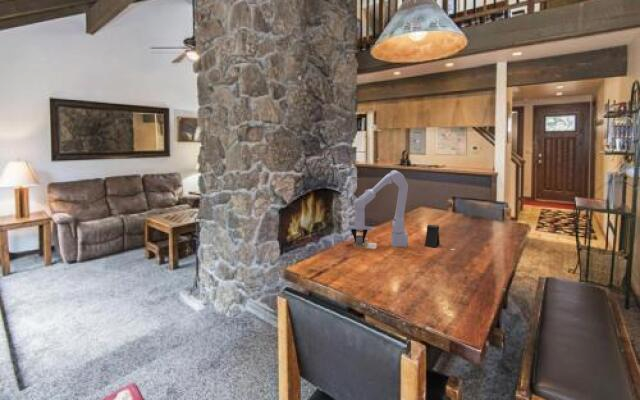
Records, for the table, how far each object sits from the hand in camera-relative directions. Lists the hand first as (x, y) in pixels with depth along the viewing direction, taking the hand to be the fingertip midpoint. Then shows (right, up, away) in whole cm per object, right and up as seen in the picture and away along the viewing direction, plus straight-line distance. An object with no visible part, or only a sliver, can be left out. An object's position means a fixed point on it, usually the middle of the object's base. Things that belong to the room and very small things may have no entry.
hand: (359, 242), depth 210 cm
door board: (+3, -3, 0) cm, 4 cm away
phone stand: (+43, -2, +2) cm, 43 cm away
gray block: (0, -1, 0) cm, 1 cm away
